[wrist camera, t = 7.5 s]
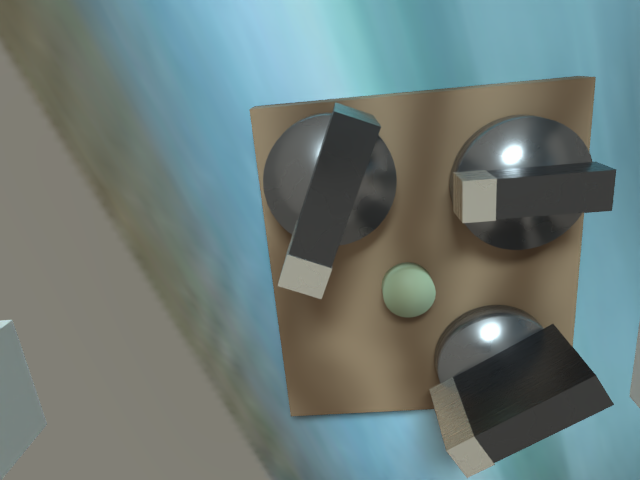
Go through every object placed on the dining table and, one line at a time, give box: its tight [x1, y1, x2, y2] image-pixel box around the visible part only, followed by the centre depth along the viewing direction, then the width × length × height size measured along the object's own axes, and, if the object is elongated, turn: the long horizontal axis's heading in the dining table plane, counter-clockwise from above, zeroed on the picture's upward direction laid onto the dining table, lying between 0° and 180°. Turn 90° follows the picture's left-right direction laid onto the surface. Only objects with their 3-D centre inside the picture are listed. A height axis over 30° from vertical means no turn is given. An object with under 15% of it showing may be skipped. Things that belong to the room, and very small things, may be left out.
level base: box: [250, 76, 596, 416], centre depth 30 cm, size 18×20×3 cm
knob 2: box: [449, 114, 616, 250], centre depth 25 cm, size 7×7×4 cm
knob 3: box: [429, 305, 614, 478], centre depth 28 cm, size 8×7×6 cm
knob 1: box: [263, 102, 397, 299], centre depth 24 cm, size 8×7×7 cm
